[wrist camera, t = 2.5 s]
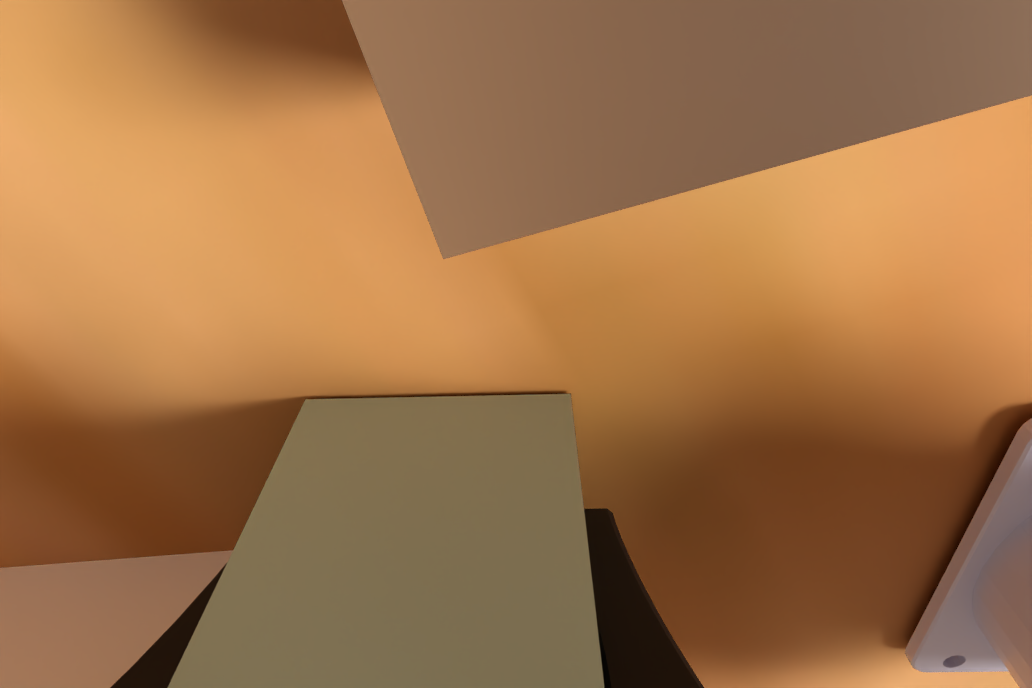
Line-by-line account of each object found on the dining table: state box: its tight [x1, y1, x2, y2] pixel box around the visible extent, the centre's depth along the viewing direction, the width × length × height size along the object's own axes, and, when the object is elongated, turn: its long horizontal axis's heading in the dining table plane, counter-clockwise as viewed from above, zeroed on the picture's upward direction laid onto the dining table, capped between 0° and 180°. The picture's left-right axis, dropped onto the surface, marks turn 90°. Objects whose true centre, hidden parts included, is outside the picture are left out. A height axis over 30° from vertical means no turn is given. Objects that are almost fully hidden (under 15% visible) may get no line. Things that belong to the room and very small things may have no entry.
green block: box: [168, 394, 604, 688], centre depth 11 cm, size 5×5×6 cm
